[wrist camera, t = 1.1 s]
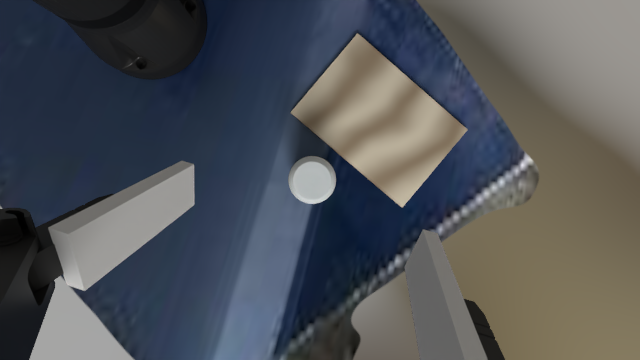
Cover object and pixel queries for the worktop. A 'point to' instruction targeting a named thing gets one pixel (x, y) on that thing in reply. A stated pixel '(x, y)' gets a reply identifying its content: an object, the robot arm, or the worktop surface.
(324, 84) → the birch board
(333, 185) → the supplement bottle
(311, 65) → the worktop surface
